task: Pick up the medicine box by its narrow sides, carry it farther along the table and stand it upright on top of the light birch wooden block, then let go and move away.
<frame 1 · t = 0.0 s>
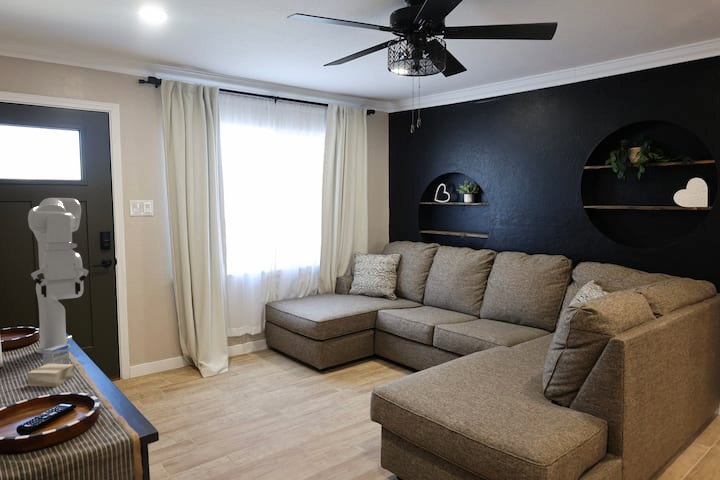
hand: (61, 295, 170), 31 cm above the table, tool pointing down, fingers open, 9 cm apart
medicine box: (56, 369, 184), on the table
wooden block: (51, 381, 171), on the table
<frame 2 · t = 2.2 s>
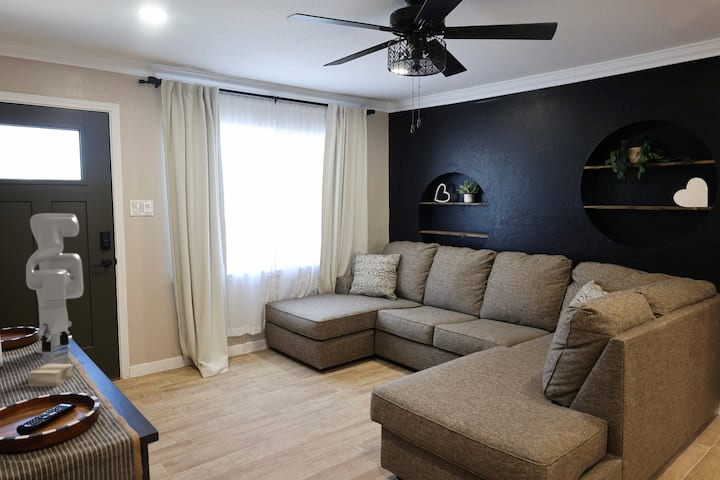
hand: (55, 348, 182), 9 cm above the table, tool pointing down, fingers open, 9 cm apart
medicine box: (56, 370, 183), on the table, touching gripper
everything else where it was.
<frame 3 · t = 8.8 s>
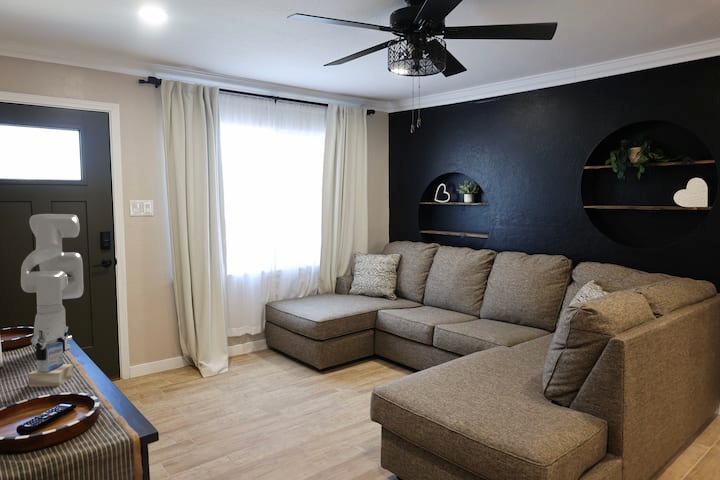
hand: (51, 355, 171), 9 cm above the table, tool pointing down, fingers open, 9 cm apart
medicine box: (50, 368, 171), point 4 cm above the table, touching wooden block
wooden block: (51, 382, 171), on the table, touching medicine box
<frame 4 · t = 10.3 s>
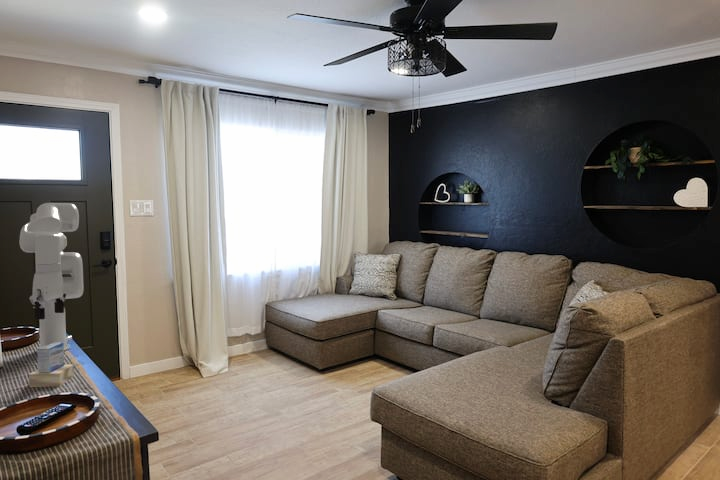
hand: (50, 315, 170), 24 cm above the table, tool pointing down, fingers open, 9 cm apart
nothing on the table moved.
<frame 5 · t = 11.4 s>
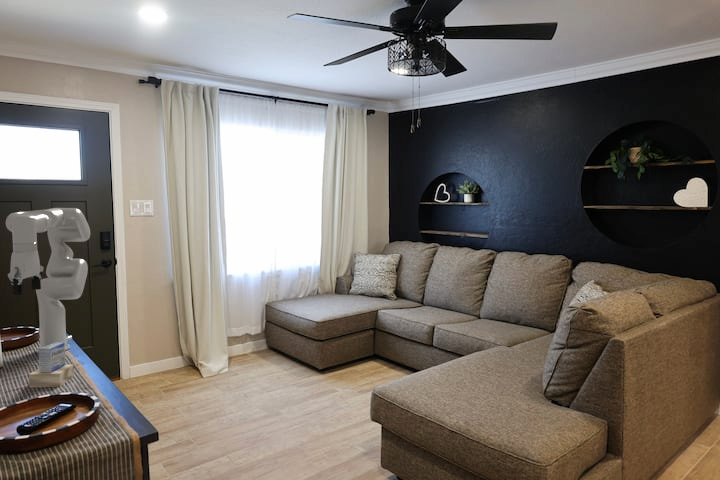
hand: (27, 292, 182), 30 cm above the table, tool pointing down, fingers open, 9 cm apart
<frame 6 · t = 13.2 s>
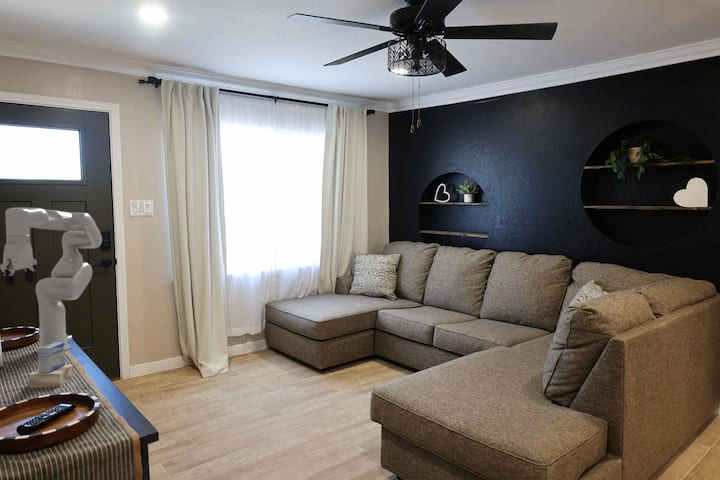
hand: (20, 283, 185), 32 cm above the table, tool pointing down, fingers open, 9 cm apart
nothing on the table moved.
at the end: medicine box inside the target area on the wooden block (0.6 cm from its centre), point 4.8 cm above the wooden block's base; medicine box tilted 1°; medicine box touching wooden block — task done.
